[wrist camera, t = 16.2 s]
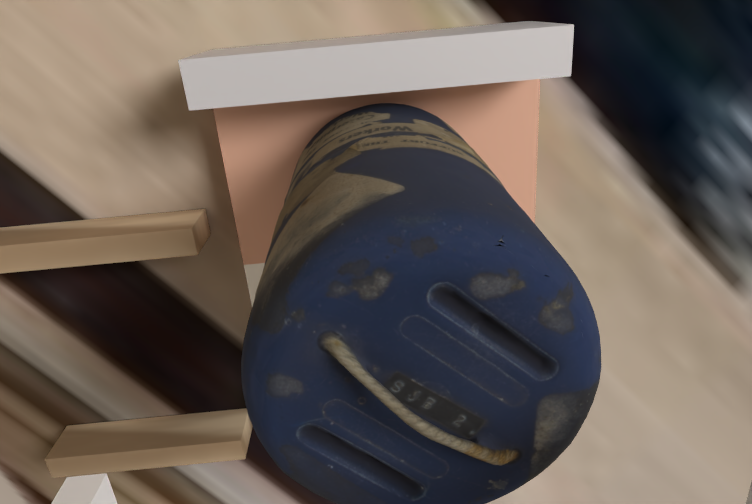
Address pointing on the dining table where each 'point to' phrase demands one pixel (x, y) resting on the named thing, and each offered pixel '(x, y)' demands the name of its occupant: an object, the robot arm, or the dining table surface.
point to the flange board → (372, 86)
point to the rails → (136, 436)
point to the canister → (413, 323)
